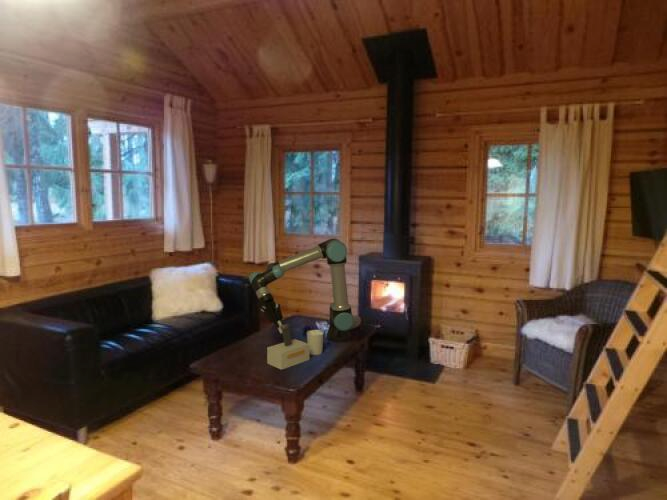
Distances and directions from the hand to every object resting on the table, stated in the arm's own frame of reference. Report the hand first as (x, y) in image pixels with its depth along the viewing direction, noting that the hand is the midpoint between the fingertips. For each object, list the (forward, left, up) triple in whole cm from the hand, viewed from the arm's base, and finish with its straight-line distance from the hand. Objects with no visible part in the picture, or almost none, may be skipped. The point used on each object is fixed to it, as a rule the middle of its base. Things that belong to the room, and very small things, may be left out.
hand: (282, 332), depth 254 cm
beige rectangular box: (-1, +4, -16) cm, 17 cm away
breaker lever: (-1, +4, -7) cm, 8 cm away
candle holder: (-21, +4, -16) cm, 27 cm away
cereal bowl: (-69, -14, -16) cm, 72 cm away
